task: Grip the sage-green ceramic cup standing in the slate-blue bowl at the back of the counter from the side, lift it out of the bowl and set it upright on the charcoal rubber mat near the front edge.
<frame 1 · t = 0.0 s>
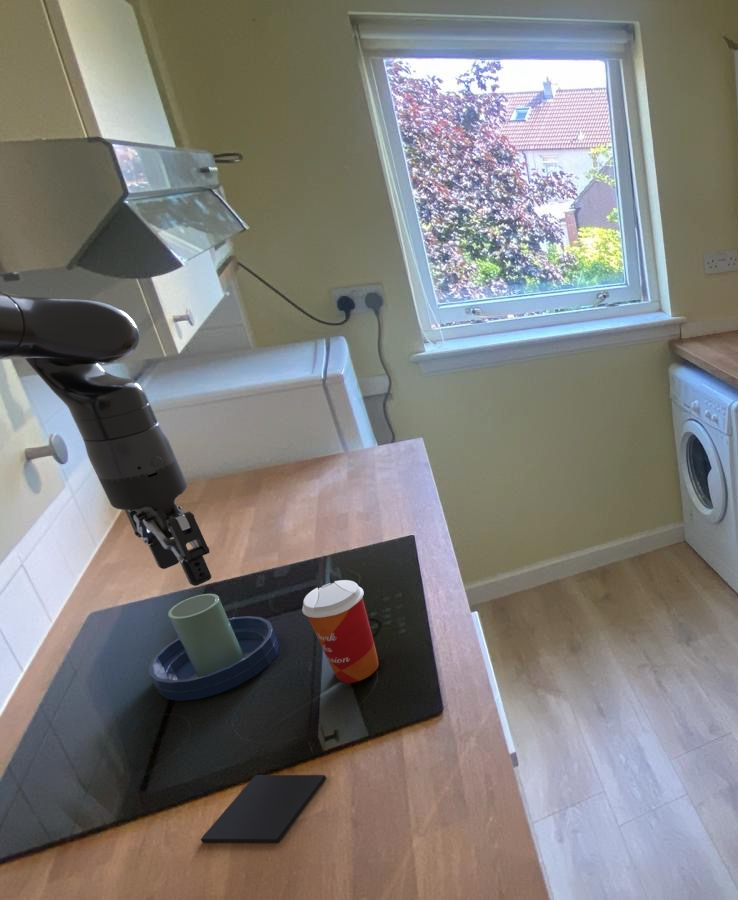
hand: (185, 573, 97), 21 cm above the worktop, tool pointing down, fingers open, 8 cm apart
bowl: (222, 668, 112), on the worktop
cup: (220, 665, 111), point 1 cm above the worktop, touching bowl
mat: (267, 809, 88), on the worktop
paper cup: (358, 671, 110), on the worktop
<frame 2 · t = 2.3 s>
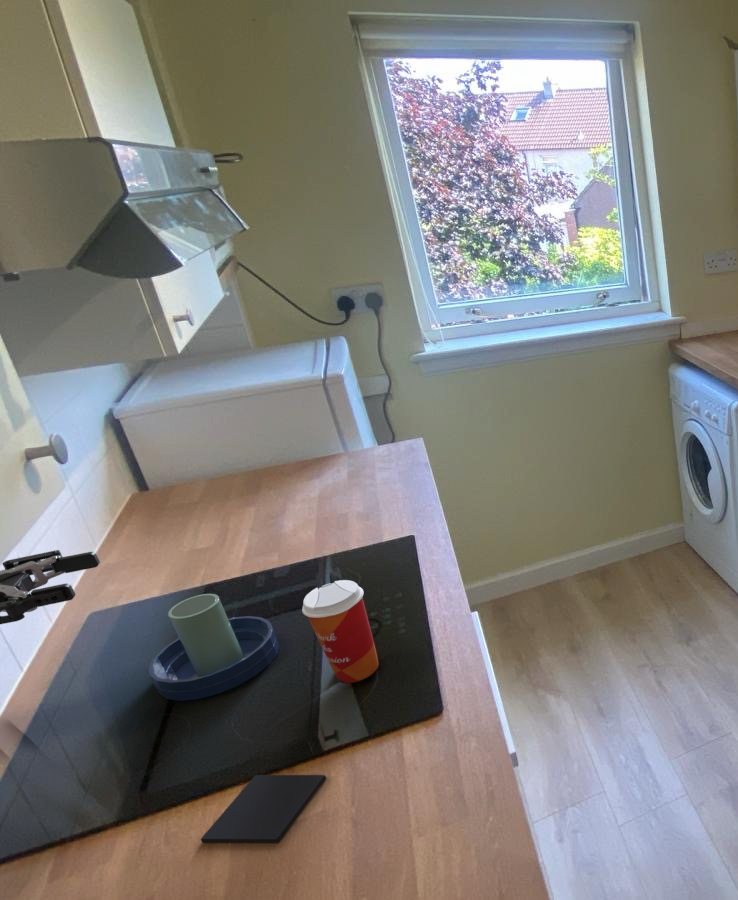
hand: (85, 574, 99), 20 cm above the worktop, tool horizontal, fingers open, 8 cm apart
nothing on the worktop moved.
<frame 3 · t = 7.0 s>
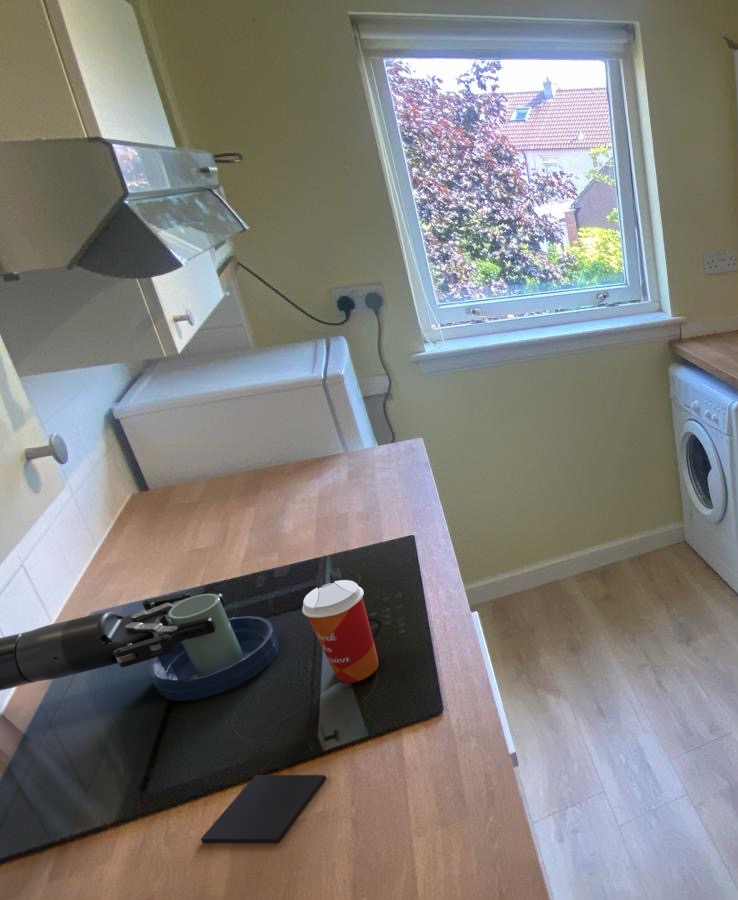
hand: (218, 612, 108), 10 cm above the worktop, tool horizontal, fingers closed on cup, 6 cm apart
cup: (220, 664, 111), point 1 cm above the worktop, touching bowl, gripper
everything else where it was.
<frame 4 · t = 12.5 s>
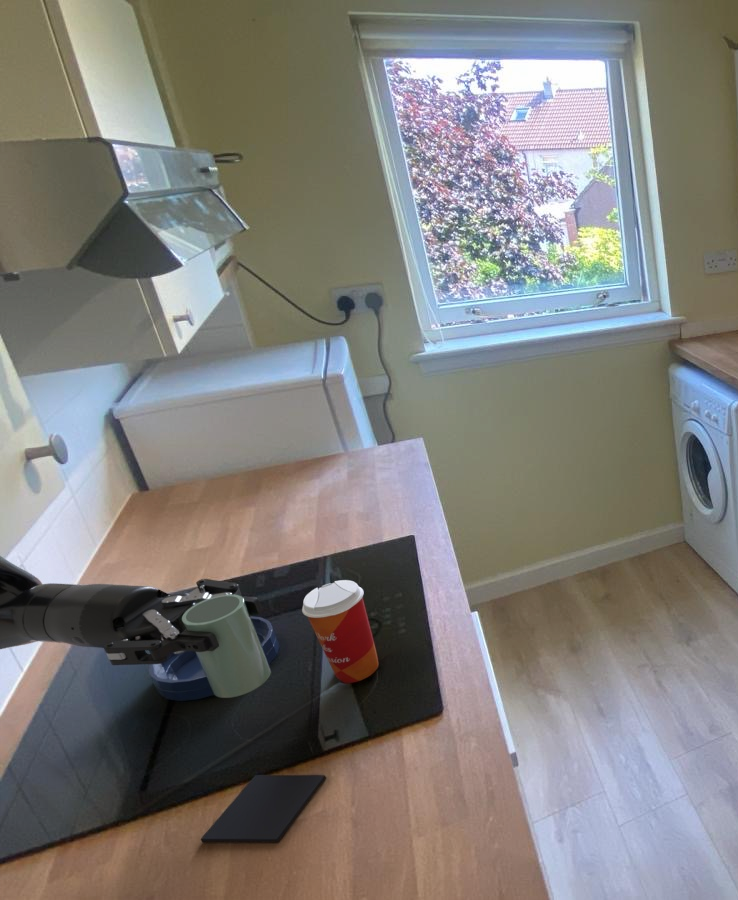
hand: (237, 623, 88), 21 cm above the worktop, tool horizontal, fingers closed on cup, 6 cm apart
cup: (242, 680, 92), point 12 cm above the worktop, touching gripper
everything else where it was.
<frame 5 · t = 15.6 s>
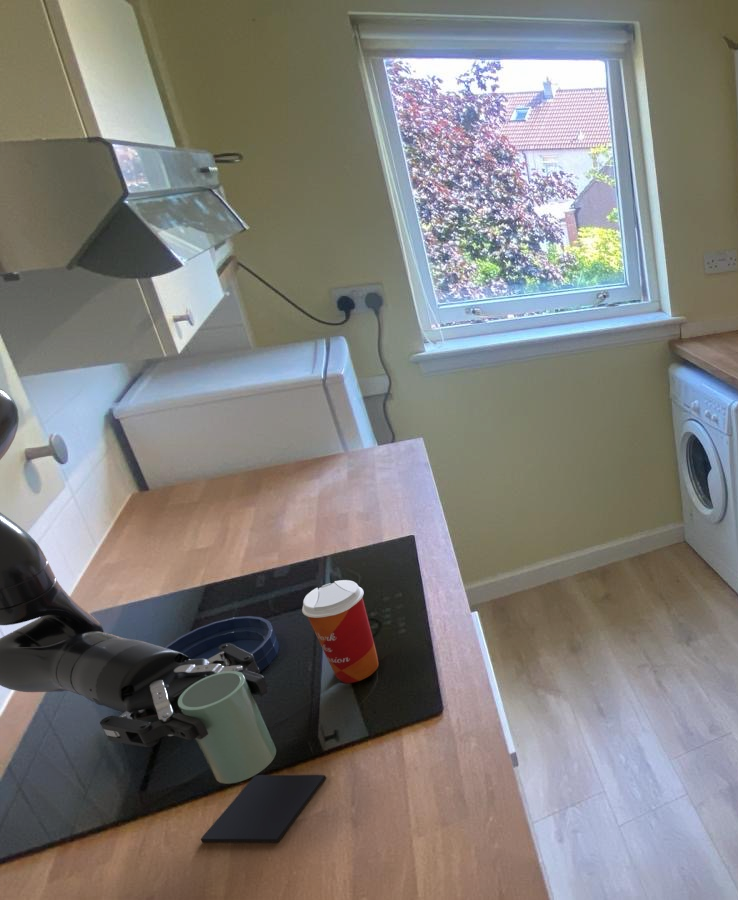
hand: (233, 708, 80), 17 cm above the worktop, tool horizontal, fingers closed on cup, 6 cm apart
cup: (246, 762, 85), point 8 cm above the worktop, touching gripper
everything else where it was.
when the fingers open (10 cm above the worktop, at t = 18.0 s): cup stays where it is, resting on mat.
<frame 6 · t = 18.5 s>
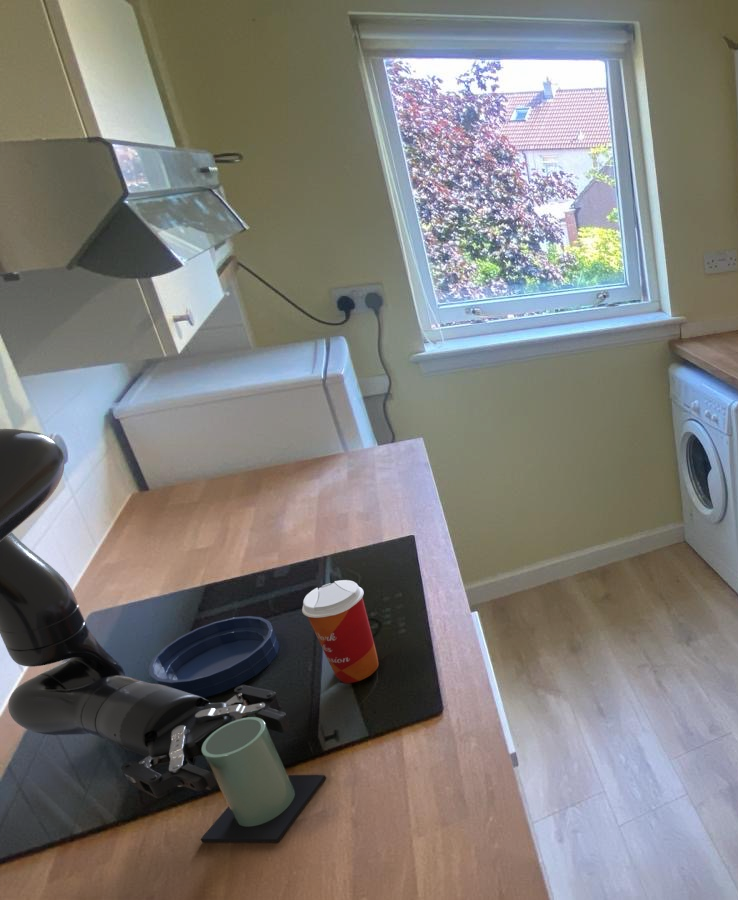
hand: (249, 751, 83), 10 cm above the worktop, tool horizontal, fingers open, 8 cm apart
cup: (265, 804, 88), point 1 cm above the worktop, touching mat
everything else where it was.
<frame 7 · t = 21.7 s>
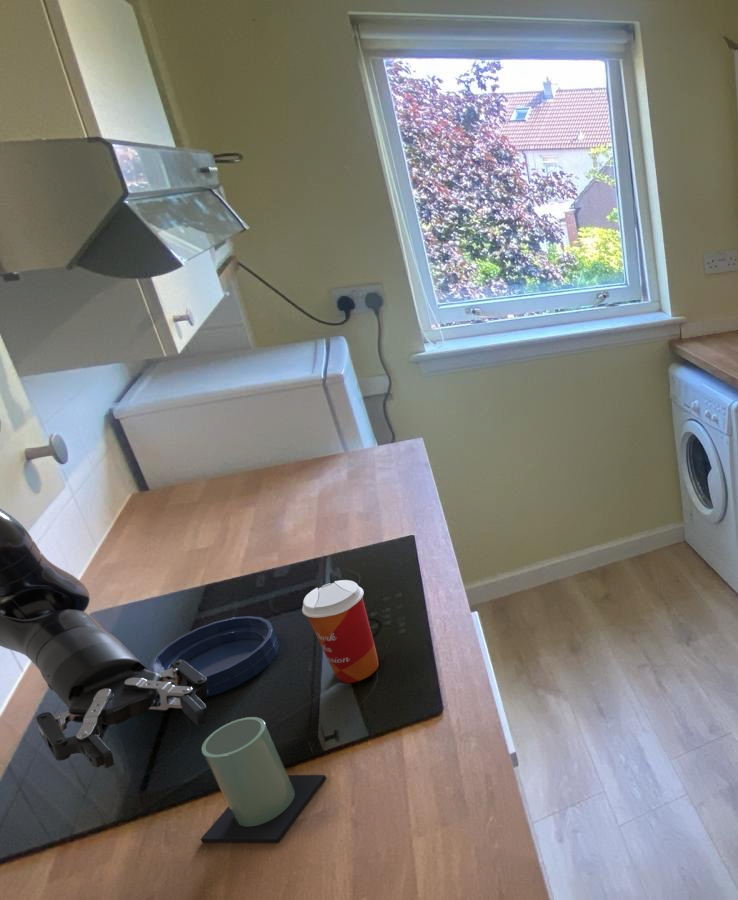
hand: (157, 738, 84), 11 cm above the worktop, tool horizontal, fingers open, 8 cm apart
nothing on the worktop moved.
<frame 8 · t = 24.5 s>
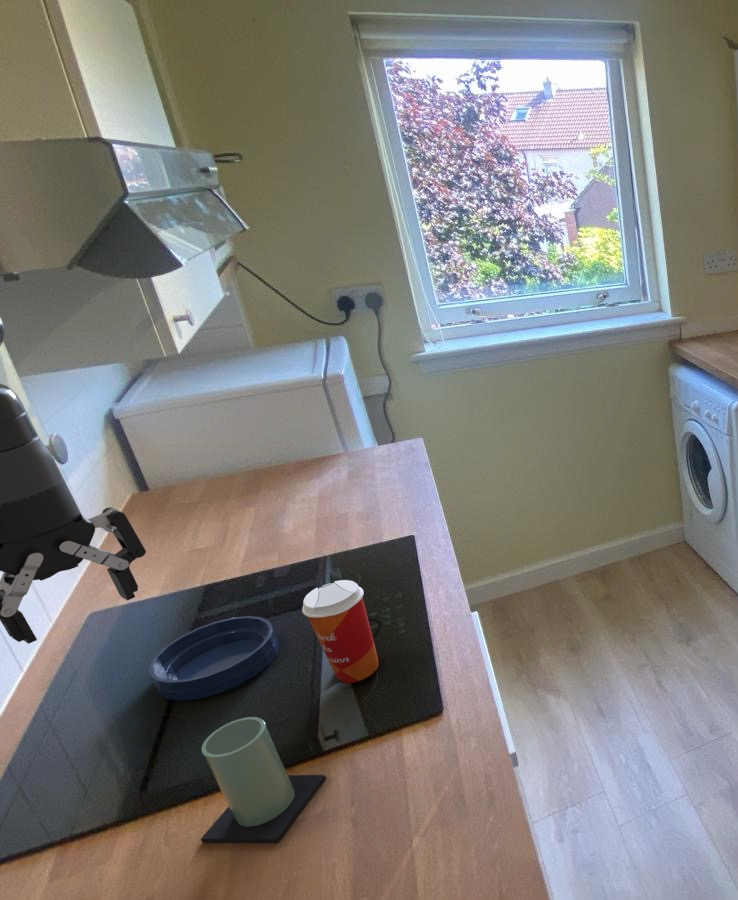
hand: (81, 617, 80), 26 cm above the worktop, tool pointing down, fingers open, 8 cm apart
nothing on the worktop moved.
at the end: cup inside the target area on the mat (0.1 cm from its centre), point 0.6 cm above the mat's base; cup tilted 0°; the gripper is holding nothing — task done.
